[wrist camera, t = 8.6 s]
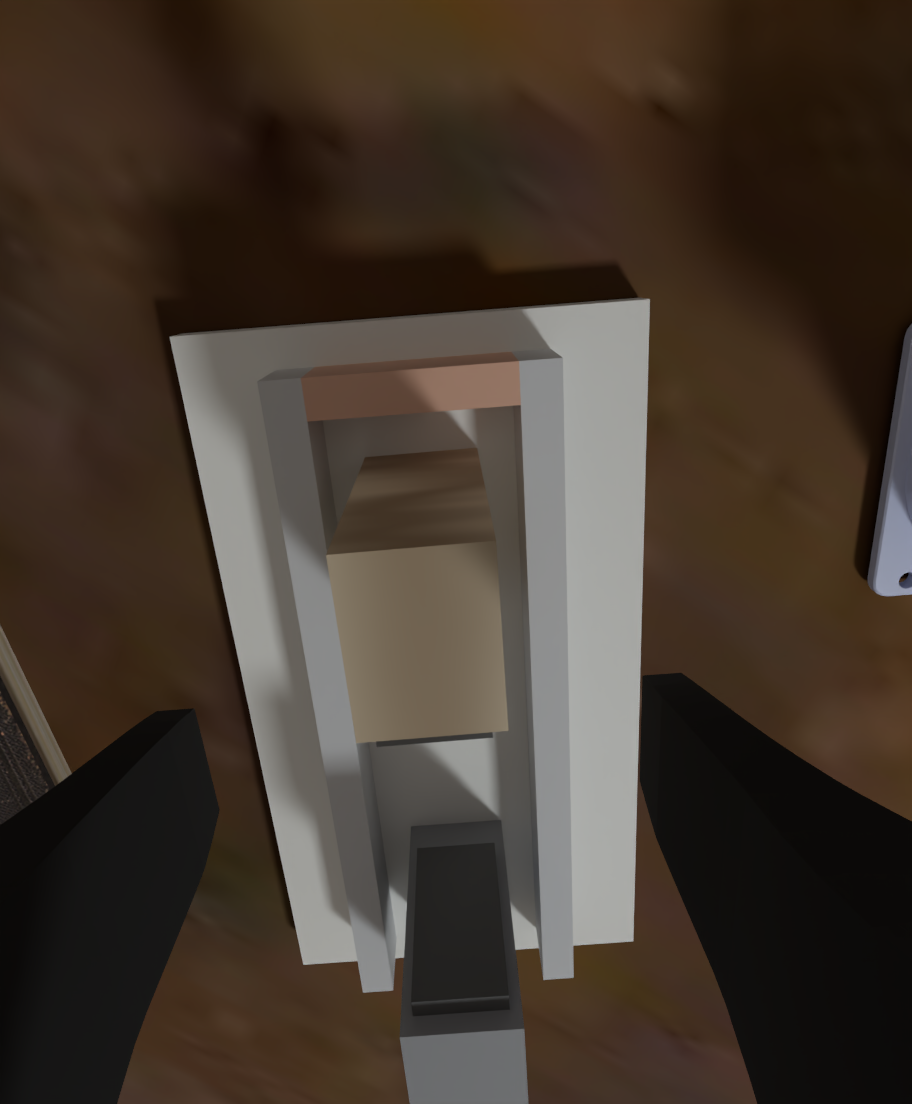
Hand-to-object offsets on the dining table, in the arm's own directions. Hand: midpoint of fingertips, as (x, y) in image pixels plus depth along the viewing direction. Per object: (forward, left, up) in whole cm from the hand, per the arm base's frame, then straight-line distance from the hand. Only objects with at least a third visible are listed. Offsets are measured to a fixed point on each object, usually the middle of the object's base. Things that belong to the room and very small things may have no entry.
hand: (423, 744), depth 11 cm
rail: (0, +5, -10) cm, 11 cm away
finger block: (0, -1, -9) cm, 9 cm away
